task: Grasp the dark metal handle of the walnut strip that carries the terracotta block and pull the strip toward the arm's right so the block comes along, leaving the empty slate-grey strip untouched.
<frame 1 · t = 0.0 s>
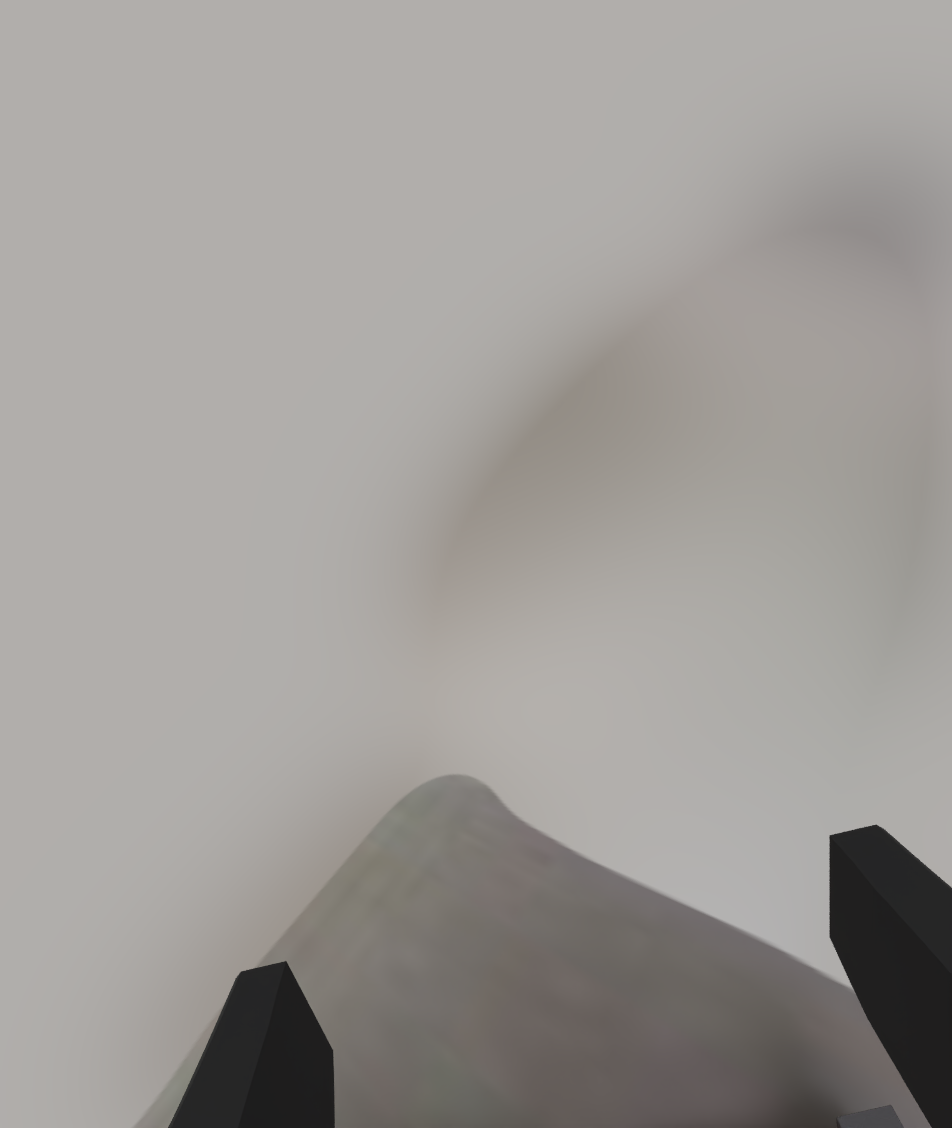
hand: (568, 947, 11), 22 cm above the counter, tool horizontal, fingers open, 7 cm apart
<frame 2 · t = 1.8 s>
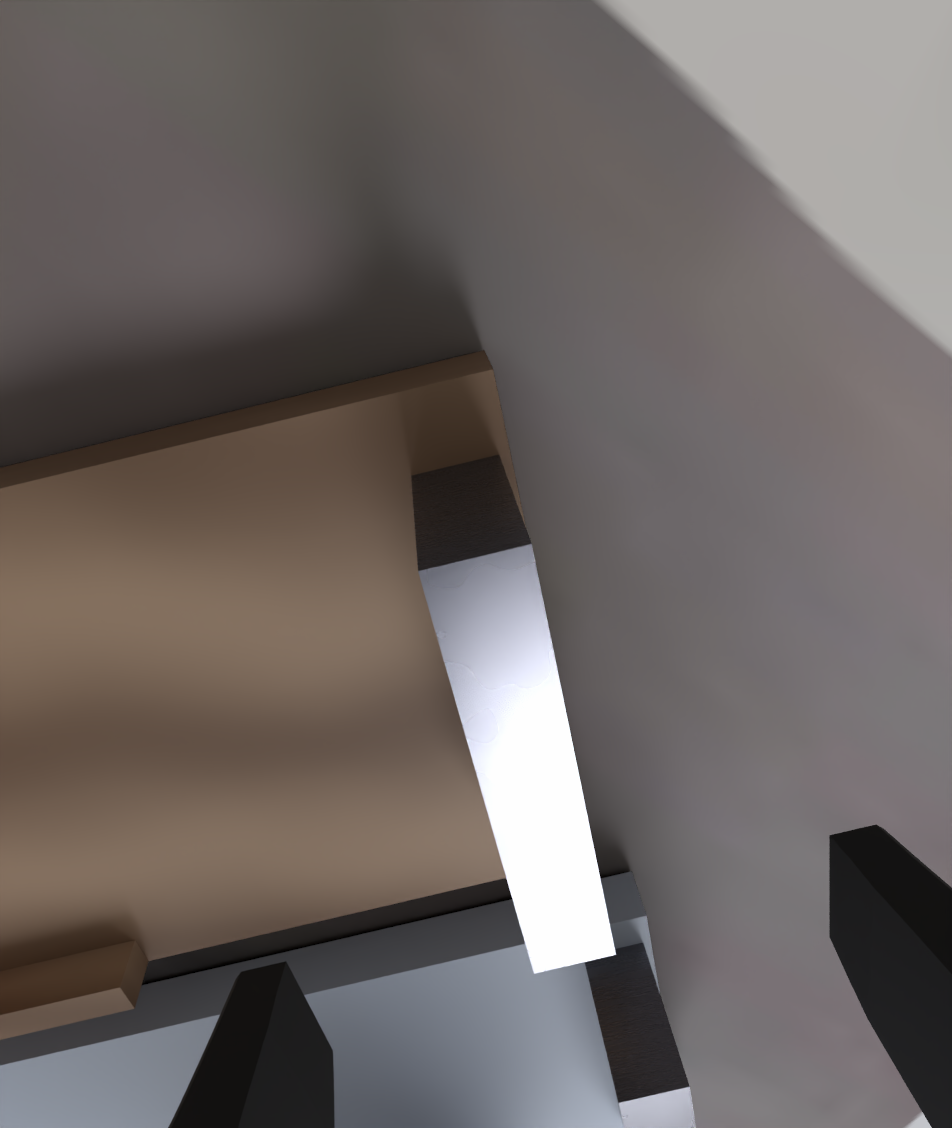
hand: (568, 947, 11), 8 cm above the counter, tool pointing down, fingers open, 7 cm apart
walnut strip: (7, 819, 15), point 3 cm above the counter, slide at 0.0 cm, touching terracotta block
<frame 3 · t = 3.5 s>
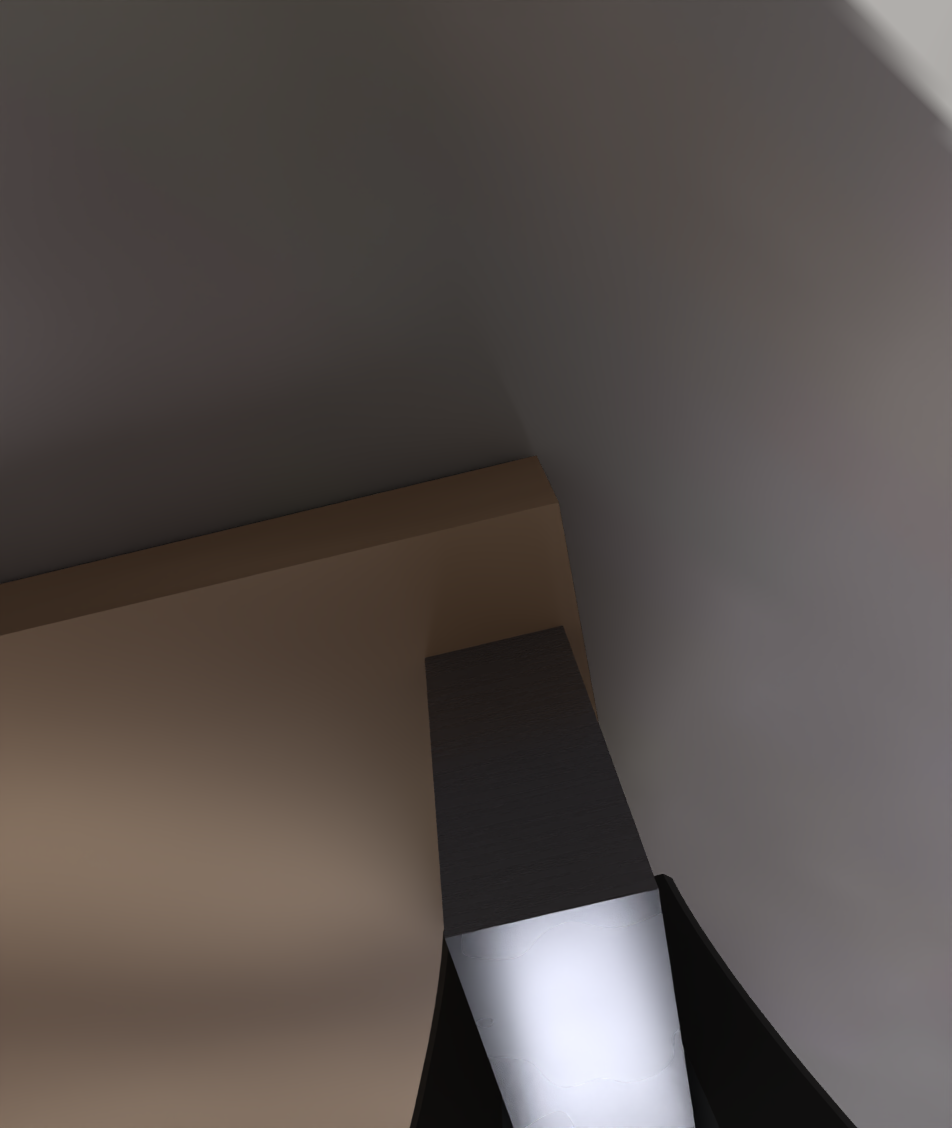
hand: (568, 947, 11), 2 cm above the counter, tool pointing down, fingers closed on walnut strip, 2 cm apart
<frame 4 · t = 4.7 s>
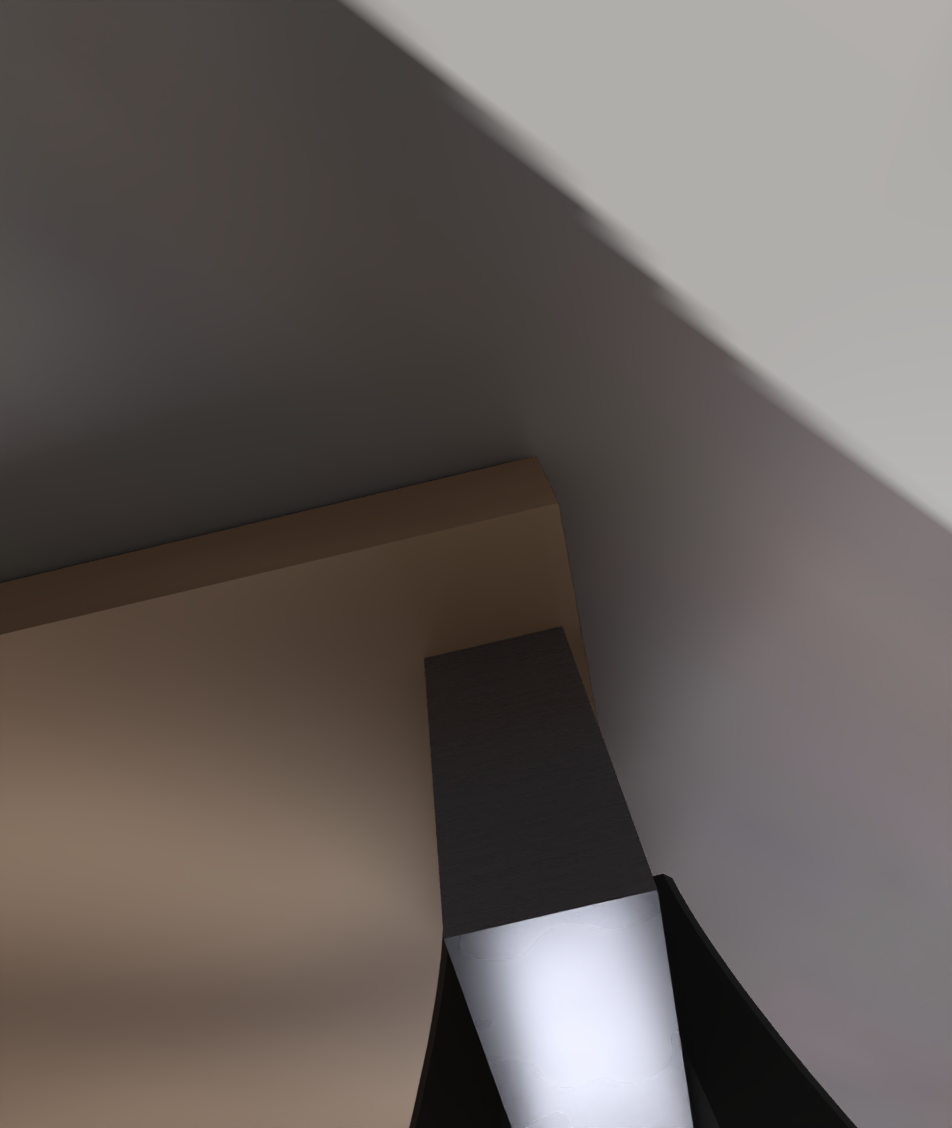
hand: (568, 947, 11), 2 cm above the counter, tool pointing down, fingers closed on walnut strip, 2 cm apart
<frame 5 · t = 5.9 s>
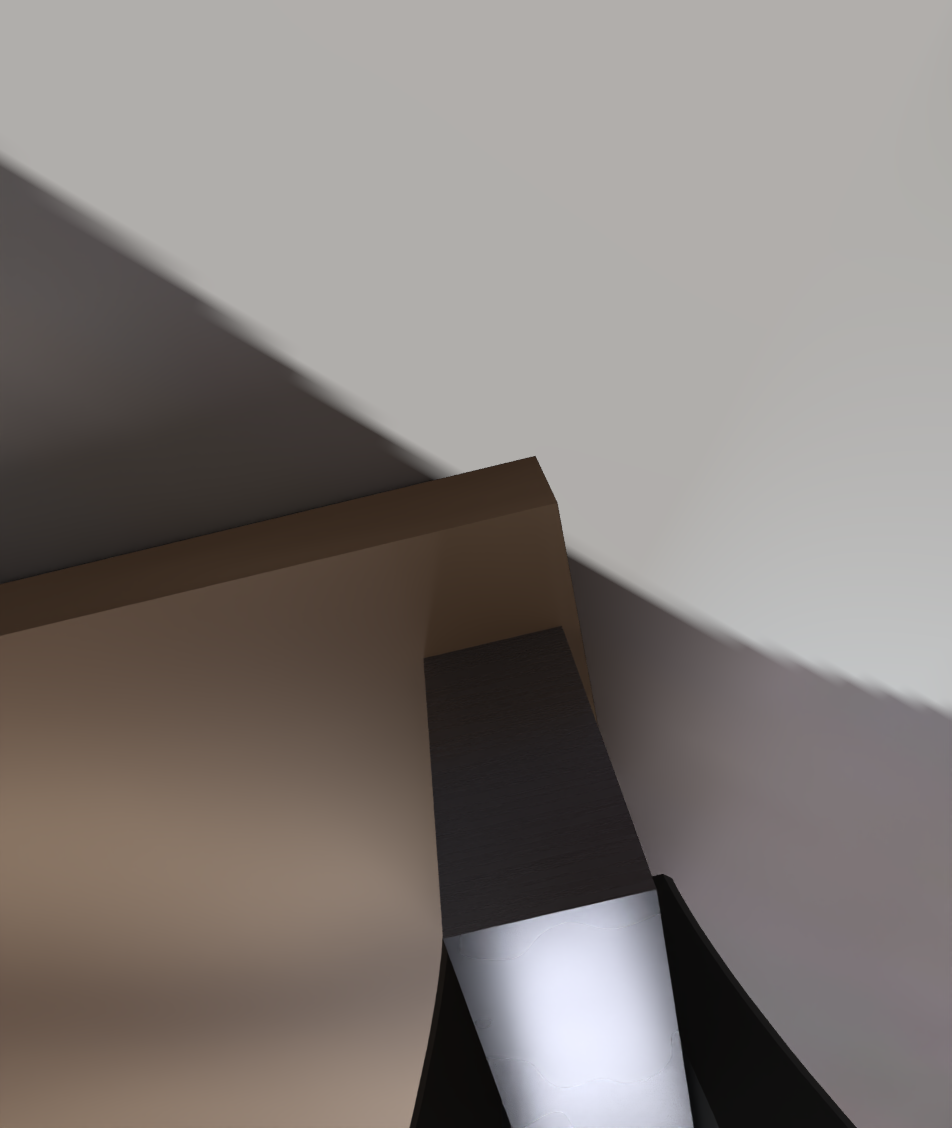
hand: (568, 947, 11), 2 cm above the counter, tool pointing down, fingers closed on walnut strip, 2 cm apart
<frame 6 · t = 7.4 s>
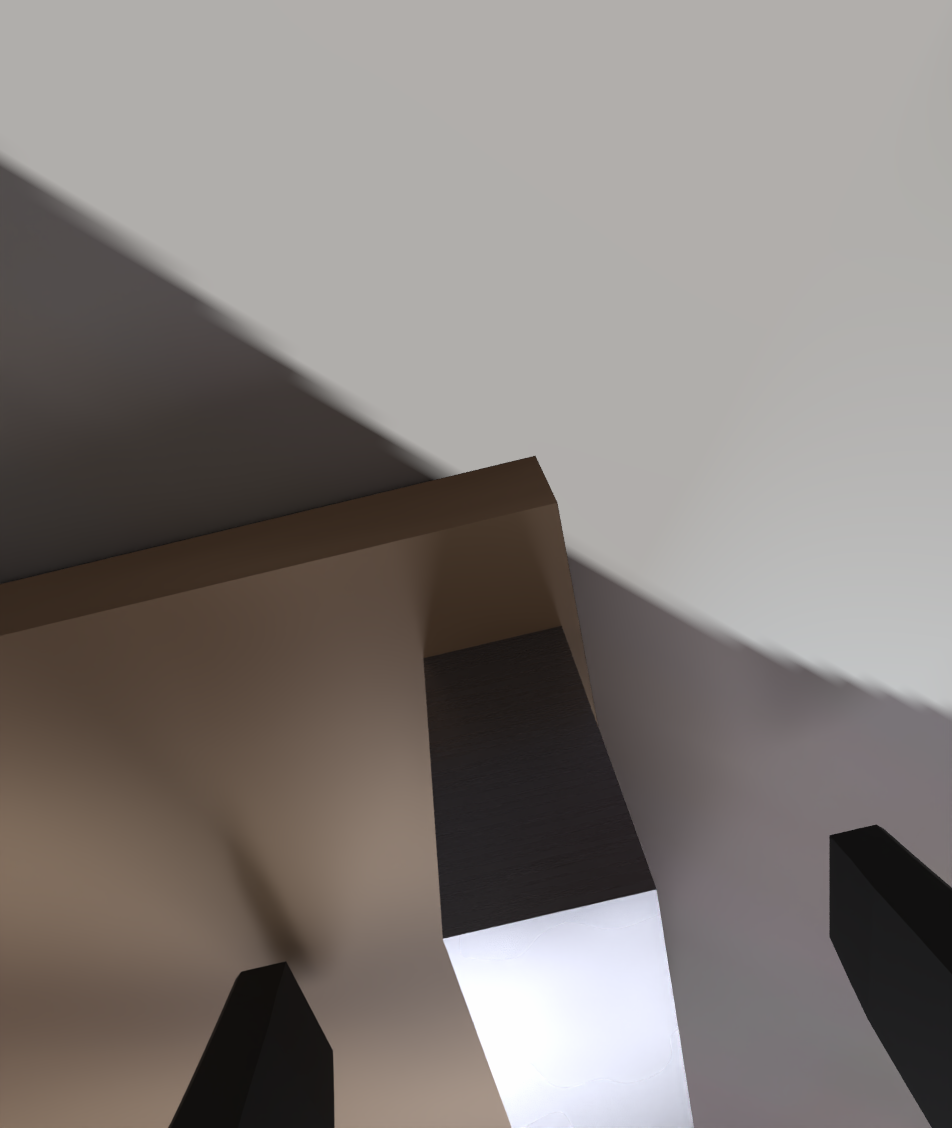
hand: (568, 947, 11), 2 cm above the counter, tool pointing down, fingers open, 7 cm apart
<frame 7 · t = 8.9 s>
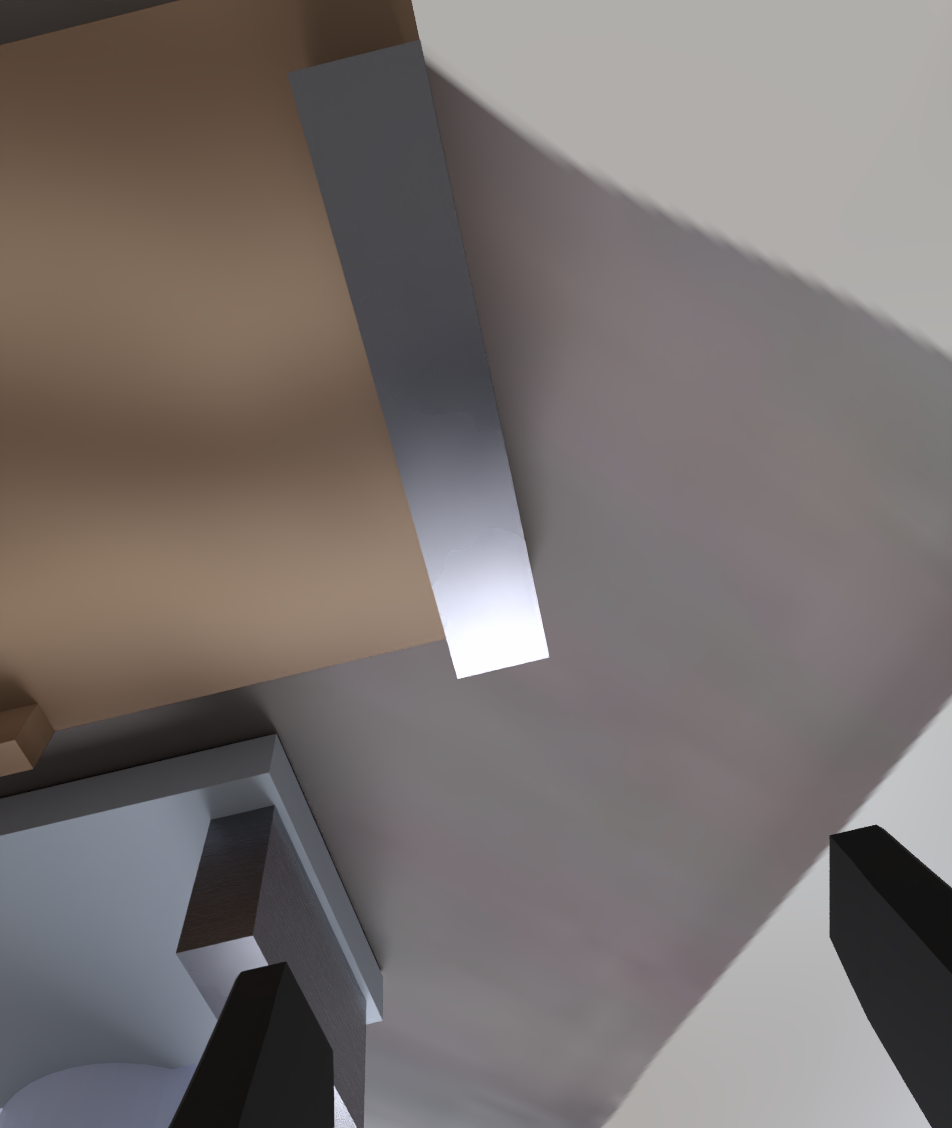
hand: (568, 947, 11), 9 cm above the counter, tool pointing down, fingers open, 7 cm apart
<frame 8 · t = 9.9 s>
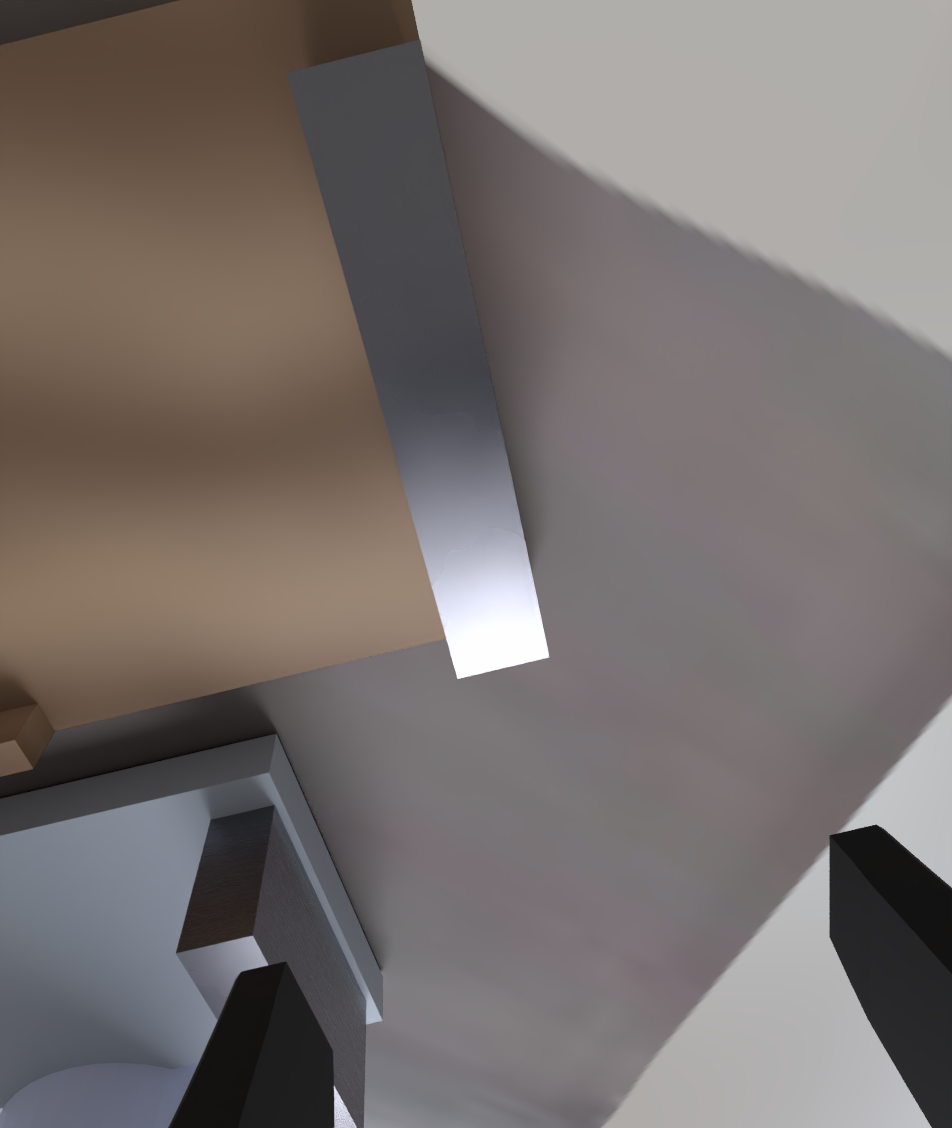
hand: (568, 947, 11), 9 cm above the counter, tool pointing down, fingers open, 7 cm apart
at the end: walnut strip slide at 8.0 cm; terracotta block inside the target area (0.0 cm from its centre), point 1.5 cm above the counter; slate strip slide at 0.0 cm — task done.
